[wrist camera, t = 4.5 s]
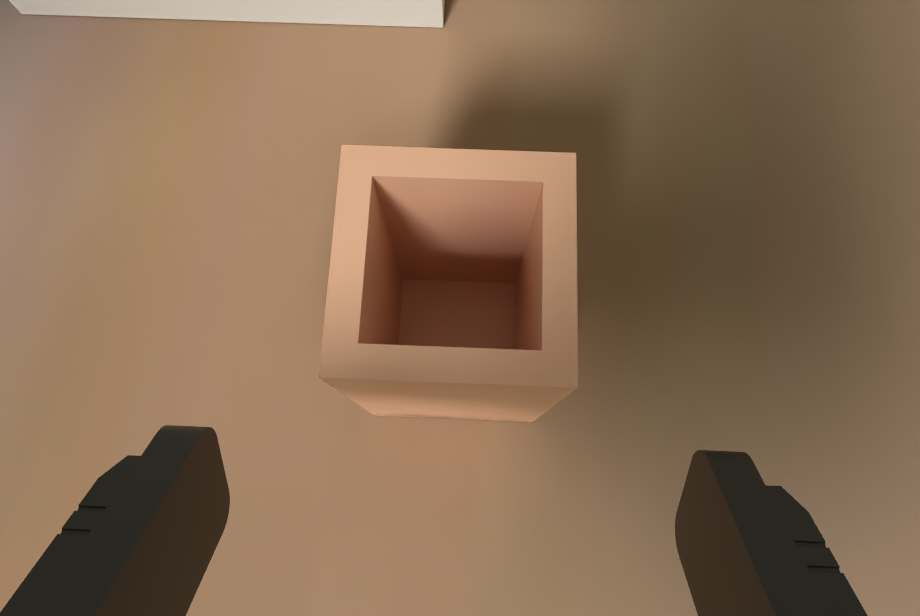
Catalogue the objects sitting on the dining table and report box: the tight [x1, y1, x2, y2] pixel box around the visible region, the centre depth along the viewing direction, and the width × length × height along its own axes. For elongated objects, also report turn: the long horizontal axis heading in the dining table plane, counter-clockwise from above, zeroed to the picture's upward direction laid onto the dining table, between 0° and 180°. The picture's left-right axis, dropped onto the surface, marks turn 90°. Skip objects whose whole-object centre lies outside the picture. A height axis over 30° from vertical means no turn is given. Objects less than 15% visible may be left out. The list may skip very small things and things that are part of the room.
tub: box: [319, 145, 578, 422], centre depth 17 cm, size 5×5×8 cm
